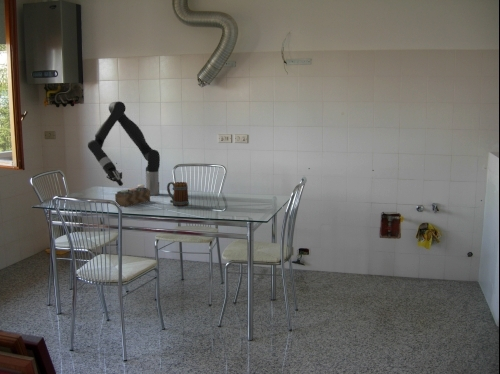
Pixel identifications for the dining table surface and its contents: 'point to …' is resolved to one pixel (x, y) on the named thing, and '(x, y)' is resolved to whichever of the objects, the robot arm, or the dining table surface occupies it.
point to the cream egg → (141, 186)
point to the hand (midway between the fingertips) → (121, 185)
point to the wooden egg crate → (132, 197)
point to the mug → (179, 194)
